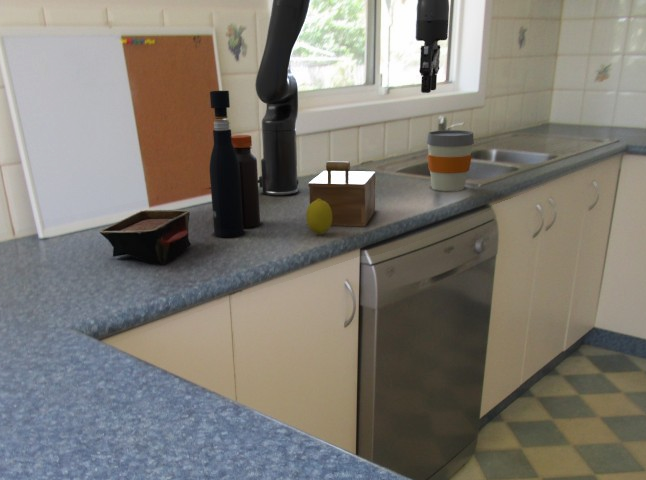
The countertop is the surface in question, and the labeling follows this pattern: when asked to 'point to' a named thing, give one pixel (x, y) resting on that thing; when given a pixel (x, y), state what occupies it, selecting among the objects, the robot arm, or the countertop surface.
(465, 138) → the reusable coffee cup
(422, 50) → the robot arm
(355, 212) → the chest
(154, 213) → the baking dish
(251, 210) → the vinegar
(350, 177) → the lid
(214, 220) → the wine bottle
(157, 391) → the countertop surface
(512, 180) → the countertop surface
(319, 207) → the lemon
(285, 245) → the countertop surface
